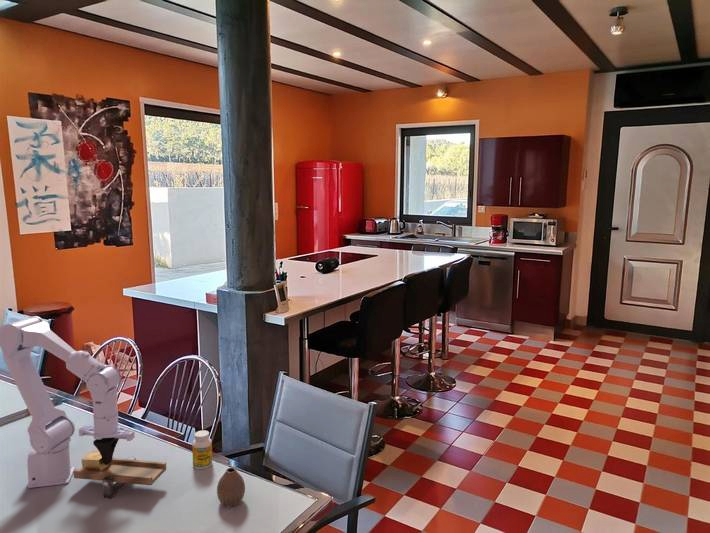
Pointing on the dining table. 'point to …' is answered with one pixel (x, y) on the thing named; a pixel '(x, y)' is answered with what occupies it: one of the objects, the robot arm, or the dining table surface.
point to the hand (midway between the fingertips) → (108, 462)
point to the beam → (126, 471)
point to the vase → (230, 488)
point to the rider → (93, 462)
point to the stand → (112, 486)
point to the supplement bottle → (202, 450)
